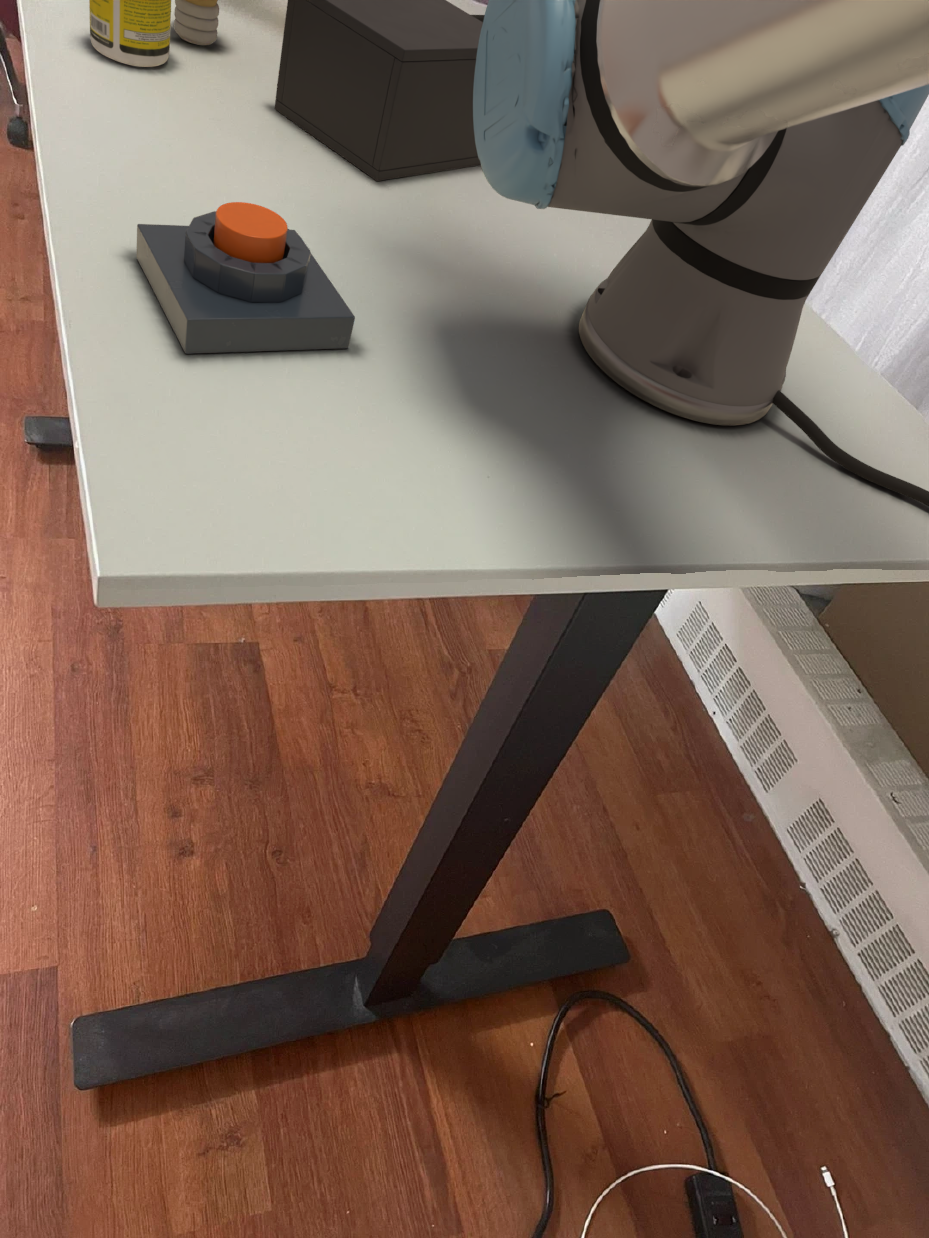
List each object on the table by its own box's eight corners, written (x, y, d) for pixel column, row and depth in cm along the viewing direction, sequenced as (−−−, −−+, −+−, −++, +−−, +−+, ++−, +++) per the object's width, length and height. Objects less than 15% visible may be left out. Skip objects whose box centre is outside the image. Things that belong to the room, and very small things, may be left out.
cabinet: (393, 99, 85) (418, -17, 78) (489, 163, 81) (524, 47, 75) (274, 109, 76) (290, -23, 69) (376, 181, 72) (404, 50, 65)
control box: (348, 348, 55) (362, 289, 52) (185, 354, 50) (189, 289, 47) (290, 260, 60) (299, 202, 57) (135, 258, 55) (137, 193, 52)
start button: (293, 267, 52) (298, 239, 51) (226, 266, 50) (229, 236, 49) (269, 231, 54) (273, 203, 53) (204, 229, 52) (206, 199, 51)
